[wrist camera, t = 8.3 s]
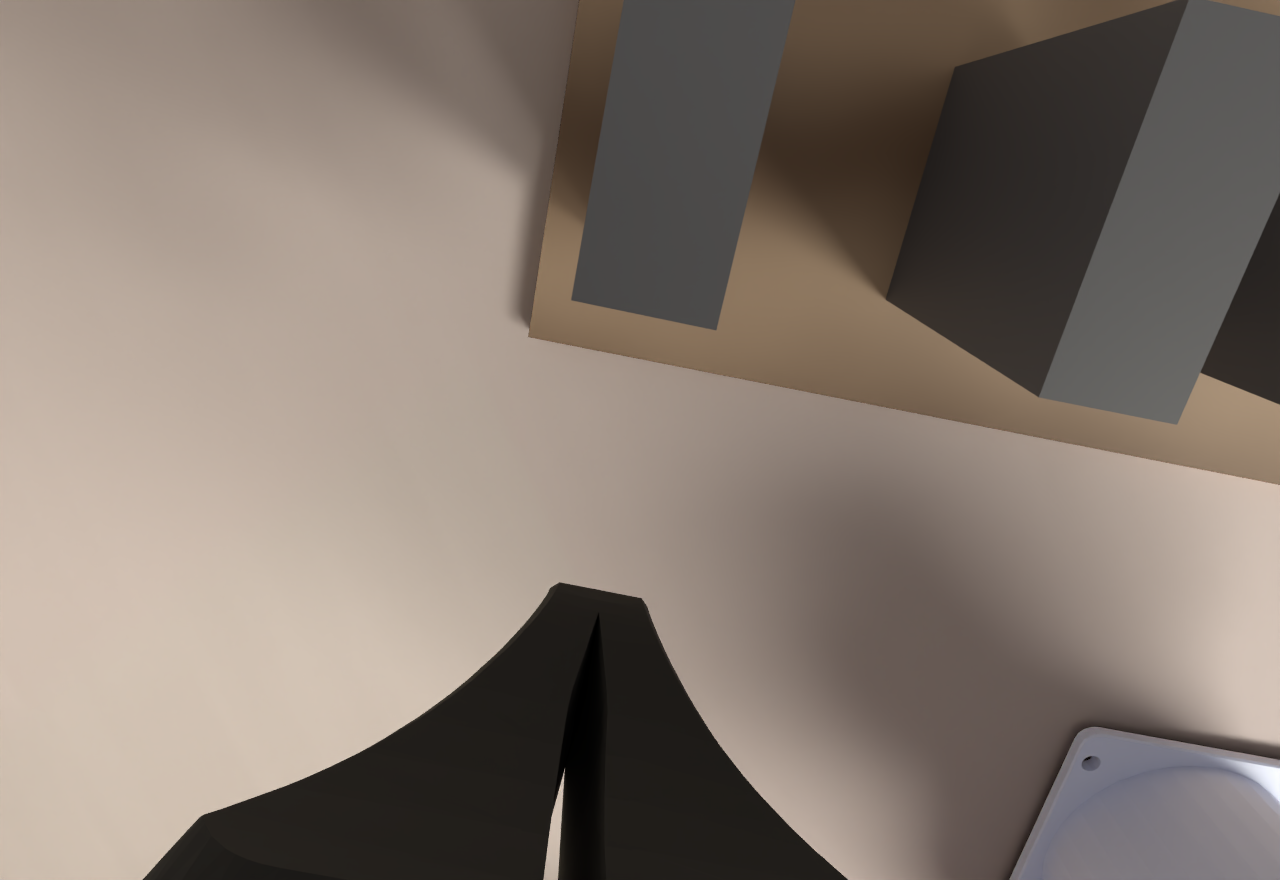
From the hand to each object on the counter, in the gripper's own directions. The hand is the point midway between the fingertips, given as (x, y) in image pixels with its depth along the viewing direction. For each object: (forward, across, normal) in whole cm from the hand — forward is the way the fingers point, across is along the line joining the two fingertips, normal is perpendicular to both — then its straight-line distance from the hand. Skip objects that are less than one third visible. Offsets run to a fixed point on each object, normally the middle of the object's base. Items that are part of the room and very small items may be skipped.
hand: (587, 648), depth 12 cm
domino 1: (+9, 0, -7) cm, 11 cm away
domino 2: (+9, -6, -7) cm, 13 cm away
